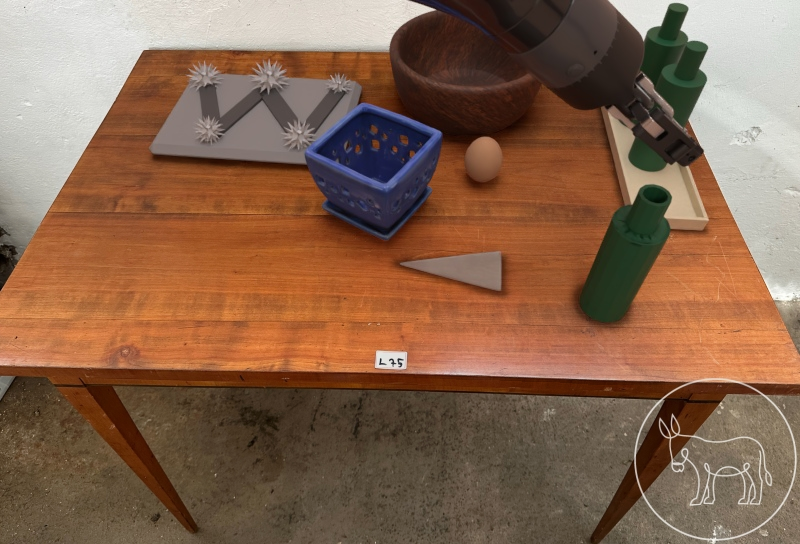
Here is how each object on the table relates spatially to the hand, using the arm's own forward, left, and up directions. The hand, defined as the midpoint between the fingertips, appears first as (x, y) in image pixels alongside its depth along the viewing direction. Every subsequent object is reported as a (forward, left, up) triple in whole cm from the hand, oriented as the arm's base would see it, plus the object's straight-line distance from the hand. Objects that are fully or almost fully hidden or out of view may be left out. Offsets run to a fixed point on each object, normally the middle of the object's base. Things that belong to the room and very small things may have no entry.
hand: (670, 130), depth 52 cm
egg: (+20, -9, -21) cm, 31 cm away
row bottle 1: (+2, -32, -21) cm, 39 cm away
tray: (-1, -23, -21) cm, 31 cm away
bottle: (-1, +6, -21) cm, 22 cm away
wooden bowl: (+29, -26, -21) cm, 45 cm away
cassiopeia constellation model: (+57, -7, -21) cm, 62 cm away
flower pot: (+31, +3, -21) cm, 38 cm away
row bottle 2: (-1, -23, -21) cm, 31 cm away
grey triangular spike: (+17, +10, -21) cm, 29 cm away
